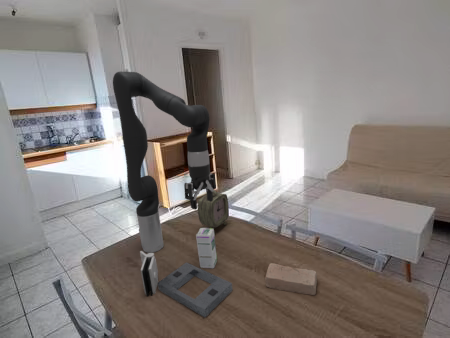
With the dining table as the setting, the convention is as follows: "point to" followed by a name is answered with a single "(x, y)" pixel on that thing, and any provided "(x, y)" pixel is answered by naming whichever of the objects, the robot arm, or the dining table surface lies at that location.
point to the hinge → (149, 273)
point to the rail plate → (205, 299)
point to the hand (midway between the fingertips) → (202, 204)
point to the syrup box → (206, 247)
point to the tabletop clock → (213, 210)
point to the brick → (291, 279)
